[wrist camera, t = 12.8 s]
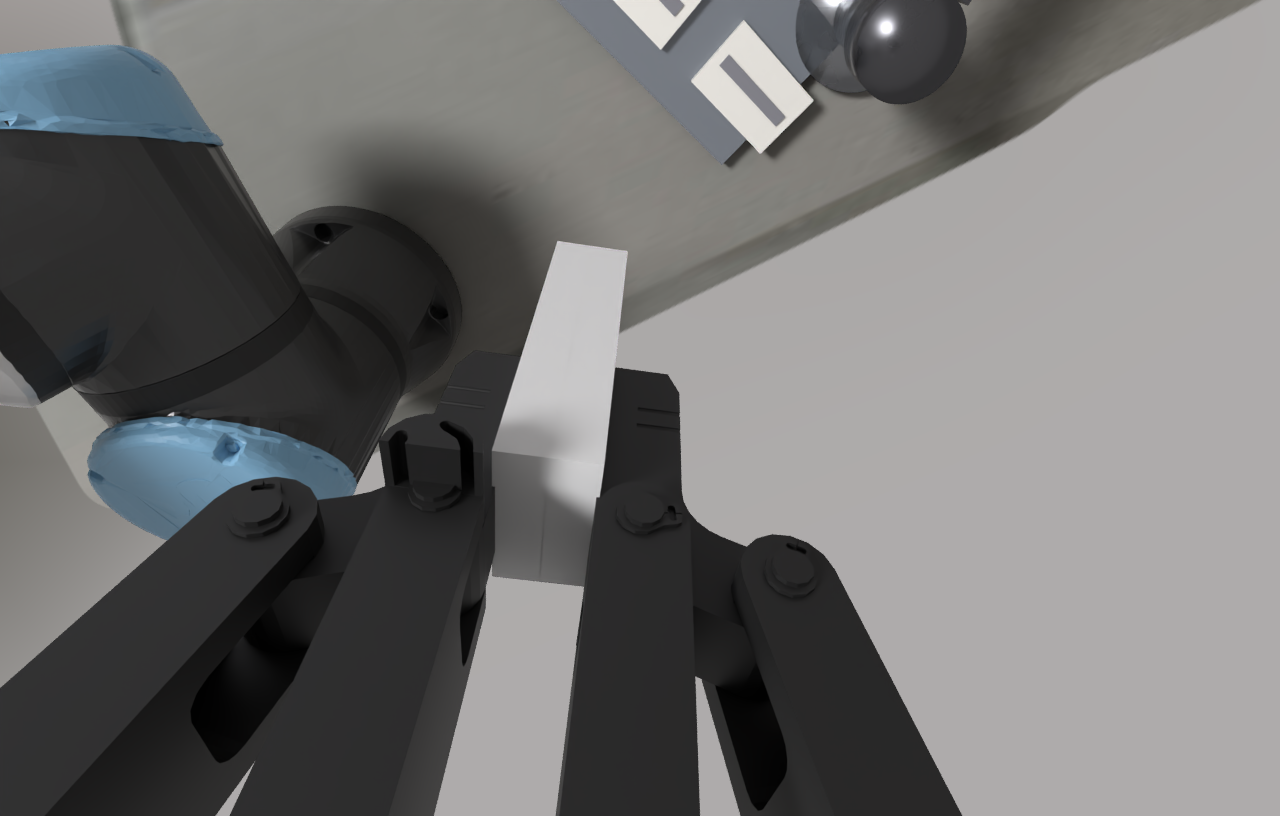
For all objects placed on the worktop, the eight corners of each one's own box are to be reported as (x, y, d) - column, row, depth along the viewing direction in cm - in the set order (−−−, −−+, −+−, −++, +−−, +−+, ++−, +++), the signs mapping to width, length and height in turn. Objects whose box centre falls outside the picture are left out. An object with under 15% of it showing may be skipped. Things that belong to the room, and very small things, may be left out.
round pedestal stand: (847, 117, 42) (872, 147, 37) (765, 21, 39) (780, 41, 34) (958, 11, 38) (1003, 29, 33) (878, -105, 35) (914, -104, 30)
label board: (732, 173, 44) (734, 180, 43) (545, -15, 38) (541, -12, 37) (852, 52, 40) (858, 57, 39) (661, -186, 33) (661, -189, 32)
